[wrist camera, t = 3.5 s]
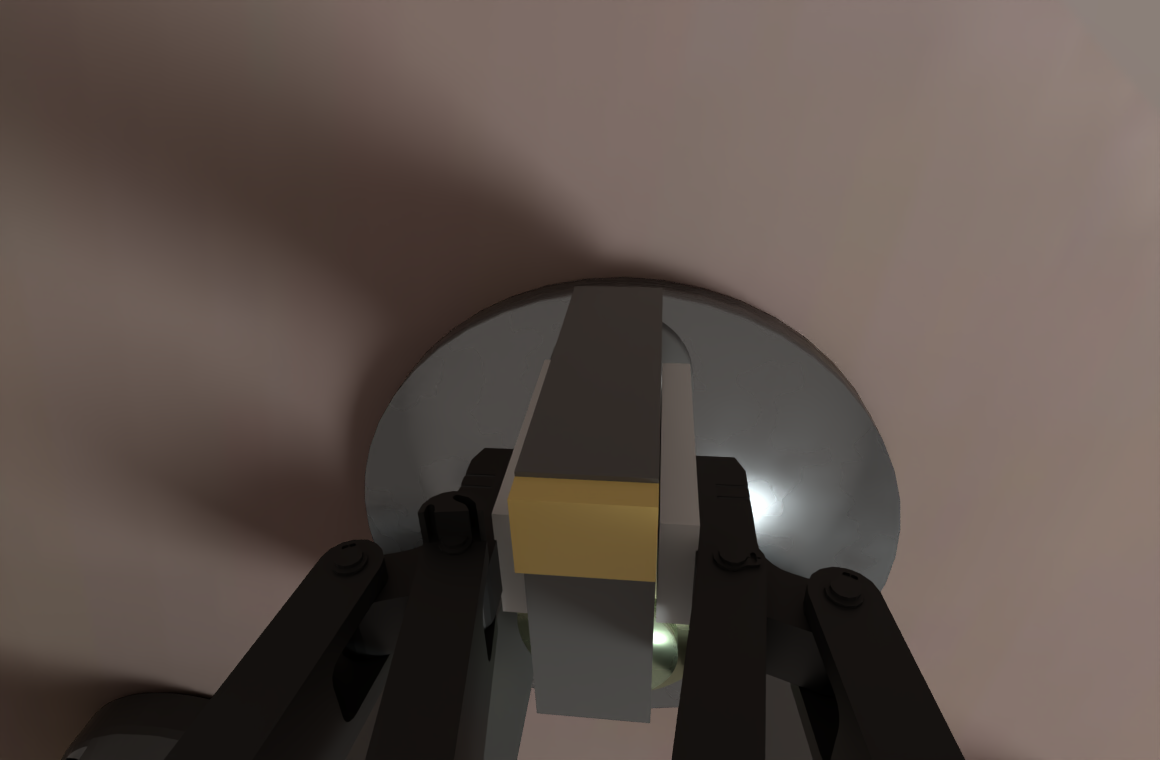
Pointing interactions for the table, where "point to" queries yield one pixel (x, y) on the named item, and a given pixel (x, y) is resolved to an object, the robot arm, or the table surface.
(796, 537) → the plate
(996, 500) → the table surface
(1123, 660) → the table surface
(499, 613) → the knob
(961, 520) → the table surface
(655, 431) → the leg
